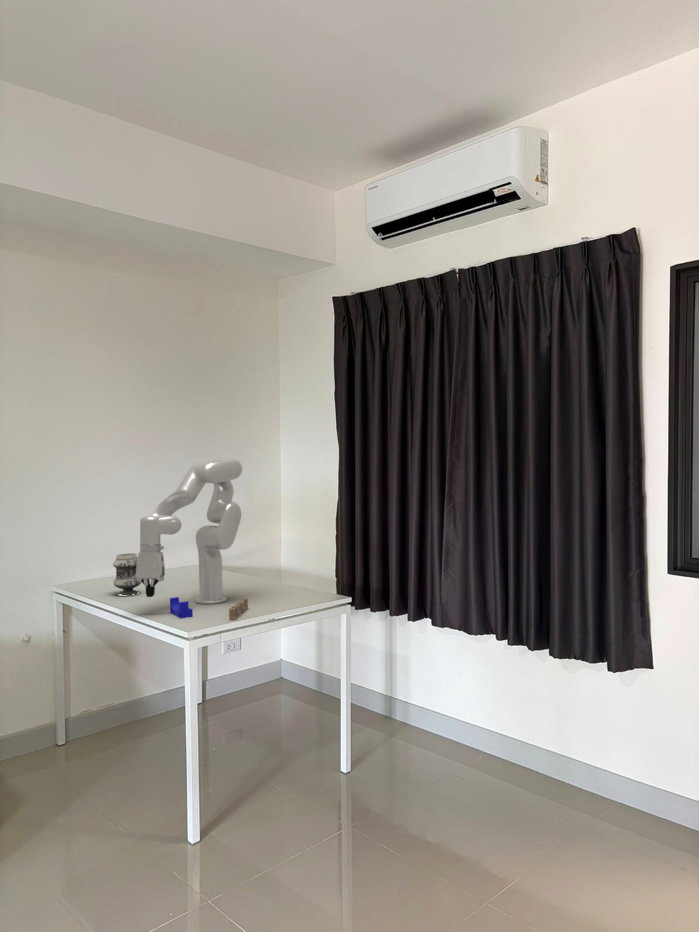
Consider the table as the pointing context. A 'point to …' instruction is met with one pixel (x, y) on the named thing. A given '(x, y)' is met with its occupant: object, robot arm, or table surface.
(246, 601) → the walnut rail
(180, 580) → the table surface
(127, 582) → the apothecary jar
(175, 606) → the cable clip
